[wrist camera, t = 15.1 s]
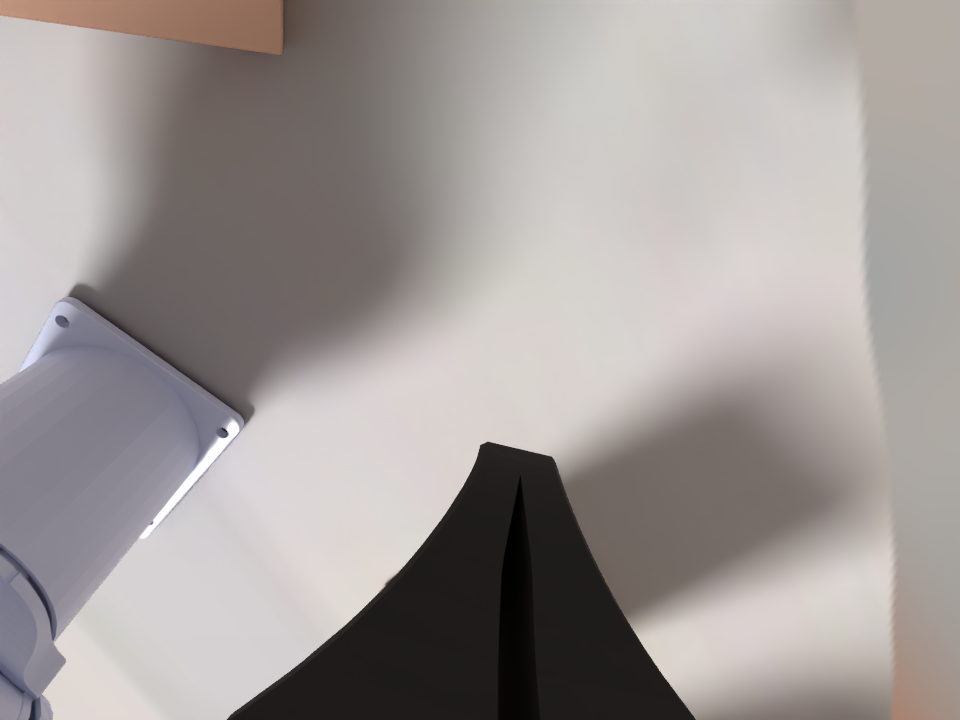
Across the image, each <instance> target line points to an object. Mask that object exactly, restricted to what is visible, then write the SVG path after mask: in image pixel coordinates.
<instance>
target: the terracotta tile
mask: <svg viewBox="0 0 960 720" xmlns="http://www.w3.org/2000/svg"><path fill="white" fill-rule="evenodd" d="M0 15H1V16H8V17H15V18H22V19H29V20H36V21H43V22H50V23H57V24H64V25H71V26H78V27H85V28H93V29H100V30H107V31H114V32H121V33H128V34H135V35H142V36H149V37H156V38H163V39H170V40H177V41H184V42H191V43H198V44H205V45H212V46H219V47H226V48H233V49H240V50H247V51H254V52H262V53H269V54H276V55H281V54H282V51H283V49H284V42H283V0H0Z"/></svg>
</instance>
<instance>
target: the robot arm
mask: <svg viewBox="0 0 960 720" xmlns="http://www.w3.org/2000/svg"><path fill="white" fill-rule="evenodd" d="M63 316H64V317H65V318H66V319H67V320H68V321H69V322H67V321H66V320H65V319H64V317H63ZM243 426H244V420H243V418H242V417H241V416H240V415H239V414H238V413H237V412H235V411H234V410H233V409H231V408H230V407H228V406H227V405H226V404H224V403H223V402H221V401H220V400H219V399H217V398H216V397H214V396H213V395H212V394H210V393H209V392H207V391H206V390H205V389H203V388H202V387H200V386H199V385H197V384H196V383H195V382H193V381H192V380H190V379H189V378H188V377H186V376H185V375H183V374H182V373H181V372H179V371H178V370H176V369H175V368H174V367H172V366H171V365H169V364H168V363H166V362H165V361H164V360H162V359H161V358H159V357H158V356H157V355H155V354H154V353H152V352H151V351H150V350H148V349H147V348H145V347H144V346H143V345H141V344H140V343H138V342H137V341H135V340H134V339H133V338H131V337H130V336H128V335H127V334H126V333H124V332H123V331H121V330H120V329H119V328H117V327H116V326H114V325H113V324H112V323H110V322H109V321H107V320H106V319H105V318H103V317H102V316H100V315H99V314H97V313H96V312H95V311H93V310H92V309H90V308H89V307H88V306H86V305H85V304H83V303H82V302H81V301H79V300H77V299H75V298H73V297H65V298H63V299H61V300H59V301H58V302H57V303H56V304H55V306H54V308H53V309H52V311H51V313H50V315H49V317H48V319H47V320H46V322H45V324H44V326H43V328H42V329H41V331H40V333H39V335H38V337H37V339H36V340H35V342H34V344H33V346H32V348H31V349H30V351H29V353H28V355H27V357H26V358H25V360H24V362H23V364H22V366H21V368H20V369H19V371H18V373H17V374H16V375H15V376H13V377H12V378H10V379H9V380H7V381H5V382H4V383H2V384H1V385H0V720H53V712H52V709H51V705H50V703H49V701H48V700H47V699H46V698H45V697H44V696H43V695H42V693H43V691H44V690H45V689H46V688H47V686H48V685H49V684H50V682H51V681H52V680H53V678H54V677H55V676H56V674H57V673H58V672H59V671H60V669H61V668H62V667H63V665H64V664H65V663H66V659H65V658H64V657H63V656H62V654H61V653H60V652H59V651H58V650H57V648H56V647H55V645H54V642H55V641H56V639H57V638H58V637H59V636H60V634H61V633H62V632H63V631H64V629H65V628H66V627H67V626H68V625H69V623H70V622H71V621H72V620H73V618H74V617H75V616H76V615H77V613H78V612H79V611H80V610H81V609H82V607H83V606H84V605H85V604H86V602H87V601H88V600H89V599H90V597H91V596H92V595H93V594H94V592H95V591H96V590H97V589H98V588H99V586H100V585H101V584H102V583H103V581H104V580H105V579H106V578H107V576H108V575H109V574H110V573H111V571H112V570H113V569H114V568H115V567H116V565H117V564H118V563H119V562H120V560H121V559H122V558H123V557H124V555H125V554H126V553H127V552H128V550H129V549H130V548H131V547H132V546H133V544H134V543H135V542H136V541H137V539H138V538H139V539H146V538H148V537H149V536H150V535H151V534H152V532H153V531H154V530H155V529H156V528H157V527H158V525H159V524H160V523H161V522H162V521H163V520H164V519H165V517H166V516H167V515H168V514H169V513H170V512H171V511H172V509H173V508H174V507H175V506H176V505H177V504H178V502H179V501H180V500H181V499H182V498H183V497H184V496H185V494H186V493H187V492H188V491H189V490H190V489H191V487H192V486H193V485H194V484H195V483H196V482H197V481H198V479H199V478H200V477H201V476H202V475H203V474H204V473H205V471H206V470H207V469H208V468H209V467H210V466H211V464H212V463H213V462H214V461H215V460H216V459H217V458H218V456H219V455H220V454H221V453H222V452H223V451H224V449H225V448H226V447H227V446H228V445H229V444H230V443H231V441H232V440H233V439H234V438H235V437H236V436H237V435H238V433H239V432H240V431H241V430H242V428H243ZM221 428H224V429H226V430H227V431H228V432H225V431H223V430H222V429H221ZM227 720H696V719H695V718H694V716H693V715H692V714H691V712H690V711H689V710H688V708H687V707H686V706H685V704H684V703H683V702H682V700H681V699H680V698H679V696H678V695H677V694H676V692H675V691H674V690H673V688H672V687H671V686H670V684H669V683H668V682H667V680H666V679H665V678H664V676H663V675H662V674H661V672H660V671H659V669H658V668H657V666H656V665H655V663H654V662H653V660H652V659H651V657H650V656H649V654H648V653H647V651H646V650H645V648H644V647H643V645H642V644H641V642H640V641H639V639H638V637H637V636H636V634H635V633H634V631H633V629H632V628H631V626H630V624H629V623H628V621H627V620H626V618H625V616H624V614H623V613H622V611H621V609H620V608H619V606H618V604H617V602H616V600H615V599H614V597H613V595H612V593H611V591H610V589H609V587H608V586H607V584H606V582H605V580H604V578H603V576H602V574H601V572H600V570H599V568H598V566H597V564H596V562H595V560H594V558H593V556H592V554H591V552H590V549H589V547H588V545H587V543H586V541H585V538H584V536H583V534H582V532H581V529H580V527H579V525H578V523H577V520H576V518H575V515H574V513H573V510H572V508H571V505H570V503H569V500H568V497H567V495H566V492H565V489H564V487H563V484H562V481H561V478H560V475H559V472H558V468H557V465H556V463H555V461H554V459H553V458H552V457H551V456H546V455H542V454H538V453H533V452H529V451H525V450H521V449H516V448H512V447H508V446H504V445H499V444H495V443H491V442H486V443H484V444H482V445H480V449H479V453H478V457H477V459H476V462H475V464H474V467H473V469H472V471H471V473H470V475H469V477H468V478H467V480H466V482H465V484H464V486H463V487H462V489H461V491H460V492H459V494H458V495H457V497H456V498H455V500H454V502H453V503H452V505H451V506H450V508H449V509H448V511H447V512H446V514H445V515H444V517H443V518H442V519H441V521H440V522H439V523H438V525H437V526H436V527H435V529H434V530H433V531H432V533H431V534H430V535H429V537H428V538H427V539H426V541H425V542H424V543H423V545H422V546H421V547H420V548H419V549H418V551H417V552H416V553H415V554H414V555H413V557H412V558H411V559H410V560H409V561H408V562H407V564H406V565H405V566H404V567H403V568H402V569H401V570H400V571H399V572H398V574H397V575H396V576H395V577H394V578H393V579H392V580H391V581H390V582H389V583H388V584H387V585H386V586H385V587H384V588H383V589H382V590H381V591H380V592H379V593H378V594H377V595H376V596H375V597H374V598H373V599H372V600H371V601H370V602H369V603H368V604H367V605H366V606H365V607H364V608H363V609H362V610H361V611H360V612H359V613H358V614H357V615H356V616H355V617H354V618H353V619H352V620H351V621H349V622H348V623H347V624H346V625H345V626H344V627H343V628H342V629H340V630H339V631H338V632H337V633H336V634H334V635H333V636H332V637H331V638H330V639H329V640H327V641H326V642H325V643H324V644H323V645H321V646H320V647H319V648H318V649H317V650H316V651H314V652H313V653H312V654H311V655H310V656H308V657H307V658H306V659H305V660H304V661H303V662H301V663H300V664H299V665H297V666H296V667H295V668H294V669H292V670H291V671H290V672H288V673H287V674H286V675H284V676H283V677H282V678H280V679H279V680H278V681H276V682H275V683H273V684H272V685H271V686H269V687H268V688H267V689H265V690H264V691H262V692H261V693H260V694H258V695H257V696H256V697H254V698H253V699H252V700H250V701H249V702H247V703H246V704H245V705H243V706H242V707H241V708H239V709H238V710H236V711H235V712H234V713H233V714H231V715H230V717H229V718H228V719H227Z"/></svg>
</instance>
